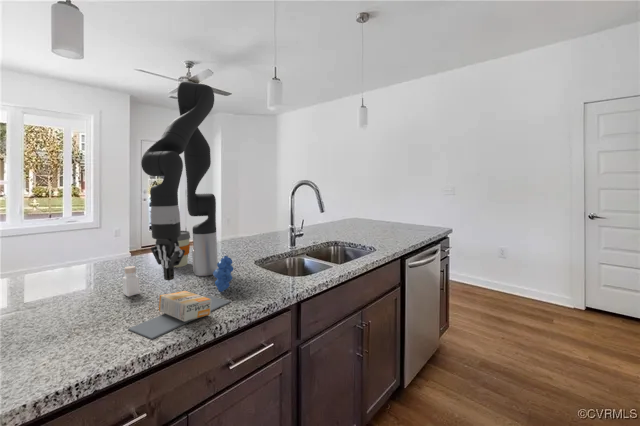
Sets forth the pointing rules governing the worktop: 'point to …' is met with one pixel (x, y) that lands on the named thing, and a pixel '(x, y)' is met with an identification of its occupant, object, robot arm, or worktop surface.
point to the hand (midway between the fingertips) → (169, 279)
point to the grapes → (223, 273)
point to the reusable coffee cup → (184, 247)
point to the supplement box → (185, 305)
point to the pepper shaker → (131, 281)
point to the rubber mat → (169, 321)
